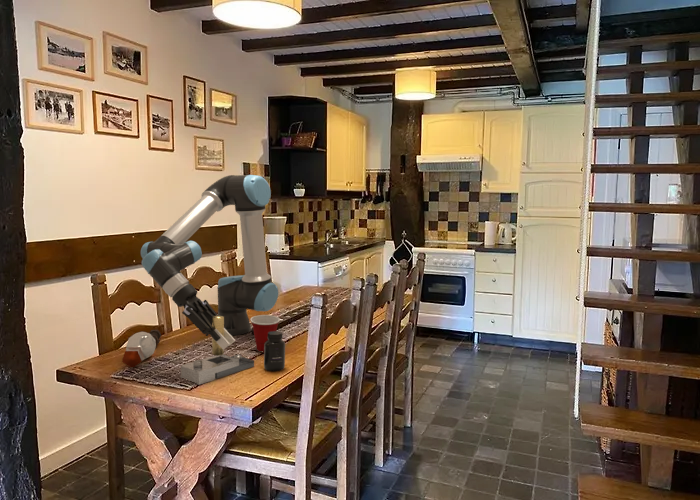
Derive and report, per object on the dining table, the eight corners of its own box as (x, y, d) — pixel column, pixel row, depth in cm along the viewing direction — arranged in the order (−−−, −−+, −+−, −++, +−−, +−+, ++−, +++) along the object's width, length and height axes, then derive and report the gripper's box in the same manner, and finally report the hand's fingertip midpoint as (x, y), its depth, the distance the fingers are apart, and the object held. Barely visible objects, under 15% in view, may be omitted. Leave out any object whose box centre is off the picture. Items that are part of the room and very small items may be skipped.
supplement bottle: (275, 373, 163) (275, 336, 162) (259, 369, 166) (259, 333, 165) (289, 367, 169) (289, 332, 167) (273, 363, 172) (273, 329, 171)
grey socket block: (221, 365, 169) (220, 349, 169) (239, 371, 164) (239, 354, 163) (180, 378, 157) (180, 360, 156) (198, 384, 152) (198, 367, 151)
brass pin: (218, 351, 165) (219, 315, 164) (226, 353, 162) (226, 316, 161) (209, 354, 162) (209, 316, 161) (217, 356, 160) (217, 318, 158)
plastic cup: (255, 356, 180) (255, 322, 179) (246, 347, 190) (246, 316, 188) (284, 352, 185) (284, 320, 184) (274, 344, 195) (274, 313, 193)
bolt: (158, 342, 201) (153, 352, 186) (146, 336, 200) (140, 346, 185) (165, 329, 201) (161, 338, 187) (153, 323, 200) (148, 332, 186)
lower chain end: (236, 360, 174) (236, 350, 174) (254, 366, 169) (254, 356, 169) (198, 372, 162) (198, 361, 162) (216, 379, 157) (216, 368, 156)
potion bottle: (150, 357, 180) (137, 377, 166) (125, 342, 178) (110, 361, 164) (164, 337, 179) (153, 355, 165) (140, 322, 177) (126, 339, 163)
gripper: (185, 294, 171) (232, 345, 170) (159, 303, 155) (210, 360, 154) (200, 279, 170) (247, 331, 169) (175, 287, 154) (226, 344, 152)
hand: (229, 344), depth 161 cm, fingers closed on brass pin, 3 cm apart
